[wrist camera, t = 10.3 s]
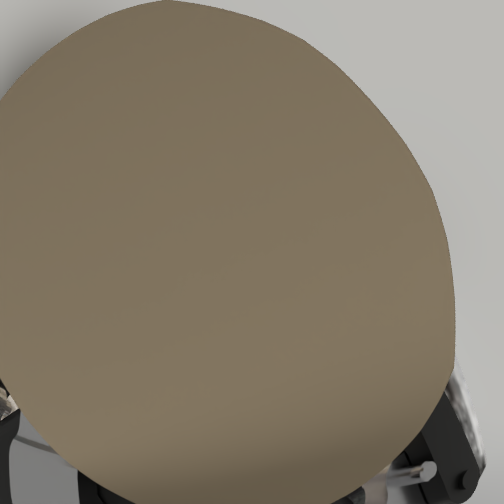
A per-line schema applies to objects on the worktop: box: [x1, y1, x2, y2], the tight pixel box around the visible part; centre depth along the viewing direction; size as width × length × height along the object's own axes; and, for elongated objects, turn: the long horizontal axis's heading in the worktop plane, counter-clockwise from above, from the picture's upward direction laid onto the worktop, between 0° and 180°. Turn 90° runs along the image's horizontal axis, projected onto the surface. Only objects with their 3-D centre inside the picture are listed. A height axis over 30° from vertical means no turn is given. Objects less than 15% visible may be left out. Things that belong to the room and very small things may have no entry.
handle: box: [0, 0, 455, 504], centre depth 9 cm, size 5×6×15 cm
